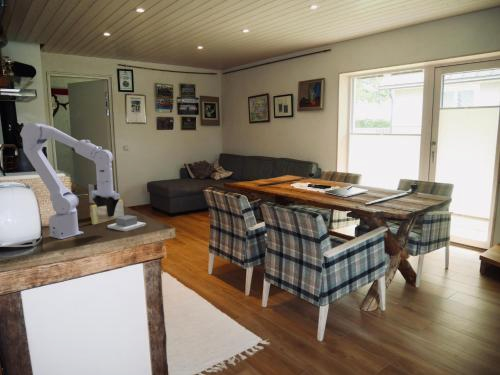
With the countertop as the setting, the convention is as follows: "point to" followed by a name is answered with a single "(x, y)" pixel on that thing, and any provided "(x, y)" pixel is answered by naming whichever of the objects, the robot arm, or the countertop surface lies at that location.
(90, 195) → the coffee box
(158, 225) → the countertop surface
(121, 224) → the white grey square pedestal
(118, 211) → the candy box
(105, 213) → the birch block
